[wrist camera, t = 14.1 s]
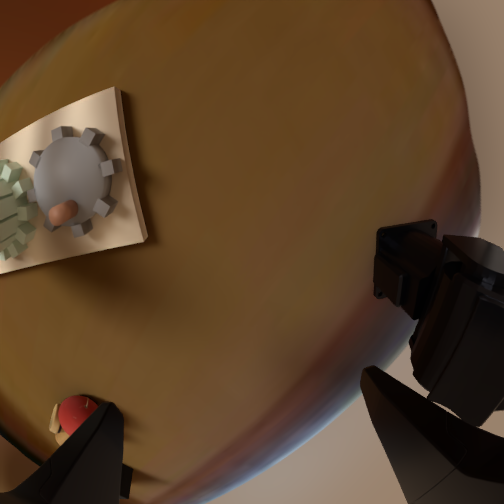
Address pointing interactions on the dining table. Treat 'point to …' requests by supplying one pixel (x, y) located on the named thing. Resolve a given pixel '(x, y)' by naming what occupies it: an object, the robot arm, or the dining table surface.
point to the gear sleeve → (14, 211)
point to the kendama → (70, 416)
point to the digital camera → (125, 482)
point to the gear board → (122, 186)
